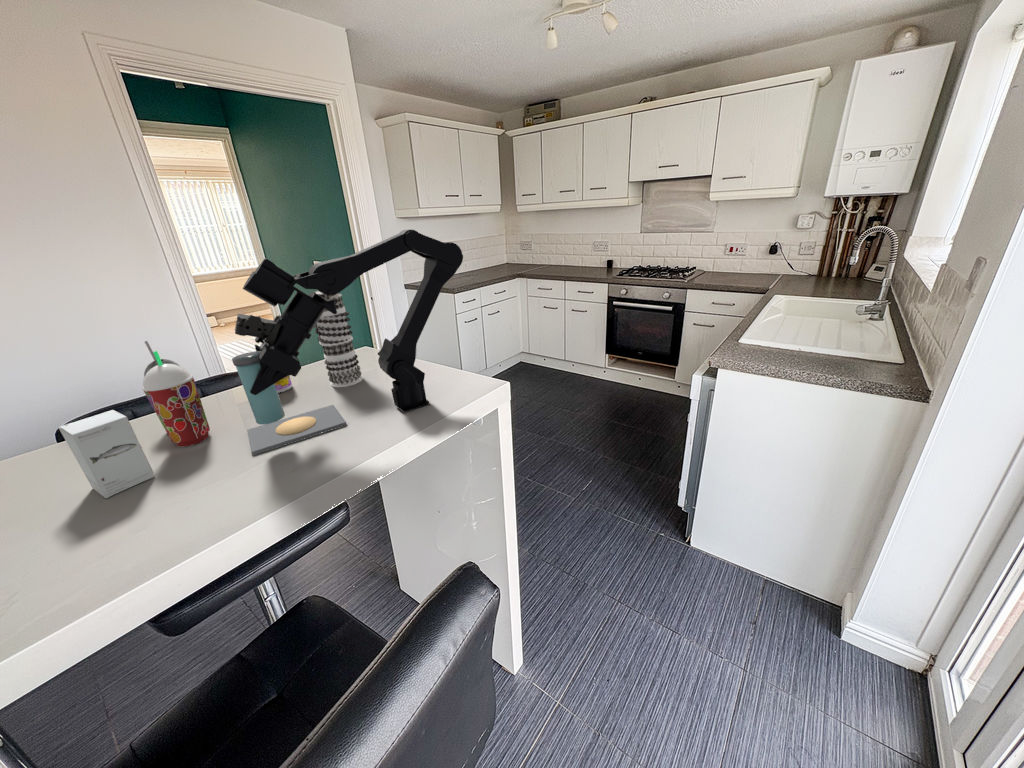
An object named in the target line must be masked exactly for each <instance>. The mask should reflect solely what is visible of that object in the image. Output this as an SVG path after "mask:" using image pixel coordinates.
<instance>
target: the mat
mask: <svg viewBox="0 0 1024 768" xmlns="http://www.w3.org/2000/svg"><path fill="white" fill-rule="evenodd" d="M345 425H346V426H348V424H347V421H346V420H345V418H344V417H343V416H342V414H341V413H340V412H339V410H338V409H337V407H336V406H335V405H334V404H330V405H326V406H324V407H320V408H317V409H314V410H310V411H306V412H304V413H299V414H296V415H292V416H289V417H286V418H282V419H280V420H278V421H276V422H273V423H269V424H261V425H259V426H256V427H252V428H249V429H246V432H247V437H248V443H249V447H250V452H251V455H252V456H256V455H259V454H262V453H265V452H268V451H271V449H272V450H275V449H278V448H280V446H281V447H284V446H286V445H285V444H287V445H289V444H288V443H290V444H292V443H291V442H293V443H296V442H299V441H298V440H300V441H302V440H301V439H303V440H305V439H304V438H306V439H308V437H309V438H311V437H310V436H312V437H314V436H313V435H315V436H317V435H316V434H318V435H320V434H319V433H321V432H324V433H326V432H325V431H328V430H331V429H334V430H336V429H335V428H337V429H339V427H340V428H343V427H346V426H345ZM342 426H343V427H342ZM331 431H332V430H331ZM328 432H329V431H328ZM321 434H322V433H321ZM295 441H296V442H295ZM283 445H284V446H283ZM277 447H278V448H277ZM274 448H275V449H274ZM264 451H265V452H264ZM261 452H262V453H261Z"/></svg>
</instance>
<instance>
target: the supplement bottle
mask: <svg viewBox="0 0 1024 768" xmlns="http://www.w3.org/2000/svg"><path fill="white" fill-rule="evenodd" d="M261 344H262V343H258V344H257V345H258V346H260V345H261ZM290 376H291V375H290ZM290 376H287V377H285V378H283V379H281V380H280V381H278V382H276V383H275V387H276V390H277V392H278V394H280V392H281V393H284V392H286V390H287V391H288V390H290V389H292V387H293V383H292V380H291V377H290Z"/></svg>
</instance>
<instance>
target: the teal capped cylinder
mask: <svg viewBox="0 0 1024 768" xmlns="http://www.w3.org/2000/svg"><path fill="white" fill-rule="evenodd" d="M261 352H262V351H256V350H255V351H250V352H249V351H248V352H245V353H241V354H239V355H235V356H233V357H232V359H231V361H232V364H233V366H235V368H236V370H237V373H238V376H239V379H240V381H241V386H242V387H243V389H244V392H245V395H246V397H247V400H248V403H249V406H250V409H251V412H252V414H253V416H254V417H253V418H254V419H255V422H256V424H257V425H265V424H269V423H273V422H276V421H279V420H282V419H284V418H285V416H286V414H285V411H284V407H283V405H282V401H281V399H280V396H279V393H278V392H277V390H276V387H275V384H273V385H271V386H270V387H268V388H267V389H265V390H263V391H262V392H260V393H259V394H257V395H253V394H251V393H250V390H251V388H252V385H253V383H254V381H255V378H256V376H257V374H258V371H259V369H260V363H259V361H258V357H257V355H259V356H260V354H261Z"/></svg>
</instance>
